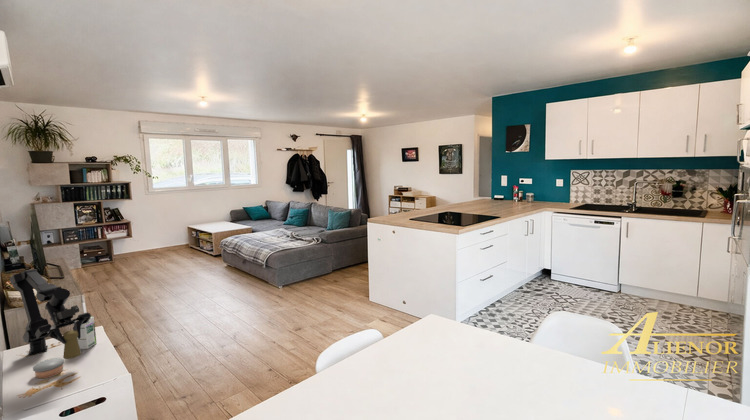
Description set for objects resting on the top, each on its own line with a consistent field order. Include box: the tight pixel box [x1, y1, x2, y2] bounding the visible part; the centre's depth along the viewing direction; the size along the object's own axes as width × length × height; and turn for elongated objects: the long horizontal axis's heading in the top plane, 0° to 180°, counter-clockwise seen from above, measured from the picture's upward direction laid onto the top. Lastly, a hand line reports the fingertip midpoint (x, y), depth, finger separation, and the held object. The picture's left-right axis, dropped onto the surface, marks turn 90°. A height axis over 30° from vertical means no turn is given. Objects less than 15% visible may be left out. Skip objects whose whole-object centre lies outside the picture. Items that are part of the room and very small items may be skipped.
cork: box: [62, 329, 82, 360], centre depth 160 cm, size 6×6×11 cm
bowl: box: [34, 363, 64, 379], centre depth 157 cm, size 9×9×3 cm
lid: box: [32, 357, 65, 373], centre depth 157 cm, size 10×10×1 cm
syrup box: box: [77, 315, 97, 350], centre depth 180 cm, size 6×6×14 cm
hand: (72, 340), depth 159 cm, fingers closed on cork, 5 cm apart
